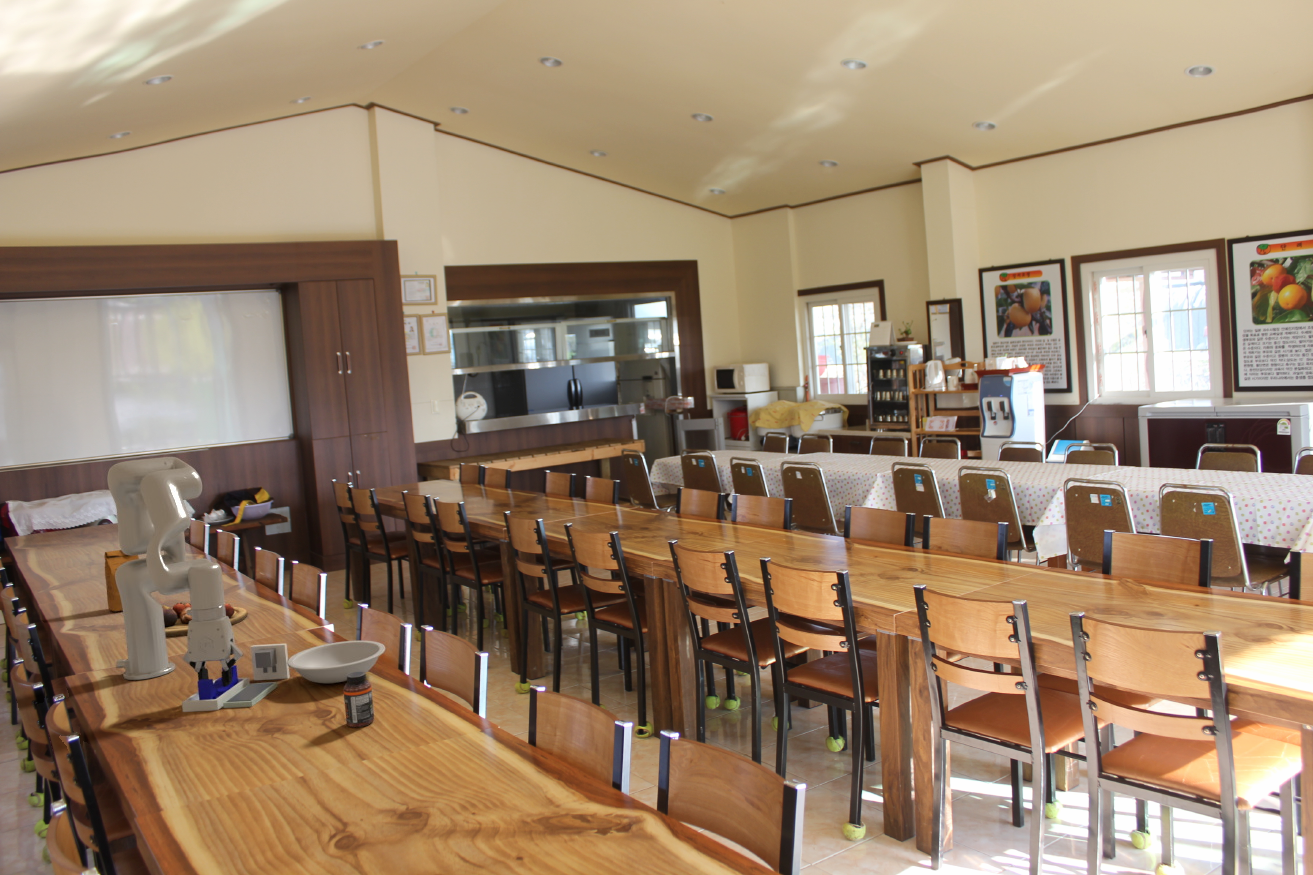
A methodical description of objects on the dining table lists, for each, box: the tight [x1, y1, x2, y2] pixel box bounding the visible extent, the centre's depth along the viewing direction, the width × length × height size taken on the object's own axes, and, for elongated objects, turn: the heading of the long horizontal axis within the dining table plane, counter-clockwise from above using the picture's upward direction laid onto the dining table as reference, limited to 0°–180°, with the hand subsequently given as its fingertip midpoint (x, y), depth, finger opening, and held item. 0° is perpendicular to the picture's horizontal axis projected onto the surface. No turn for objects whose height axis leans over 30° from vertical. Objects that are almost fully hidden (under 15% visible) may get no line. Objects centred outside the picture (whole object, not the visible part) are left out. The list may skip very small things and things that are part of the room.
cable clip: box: [196, 664, 239, 700], centre depth 235 cm, size 12×4×6 cm, turn 173°
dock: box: [181, 677, 251, 713], centre depth 235 cm, size 9×17×2 cm, turn 178°
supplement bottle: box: [343, 671, 375, 728], centre depth 211 cm, size 6×6×11 cm
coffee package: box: [103, 549, 140, 612], centre depth 343 cm, size 10×12×22 cm
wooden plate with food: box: [161, 602, 249, 638], centre depth 314 cm, size 32×32×8 cm
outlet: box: [250, 643, 291, 681], centre depth 247 cm, size 9×4×9 cm, turn 88°
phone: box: [222, 681, 278, 709], centre depth 235 cm, size 7×14×1 cm, turn 178°
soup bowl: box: [287, 640, 386, 684], centre depth 245 cm, size 24×24×7 cm
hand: (215, 684), depth 235 cm, fingers open, 5 cm apart
